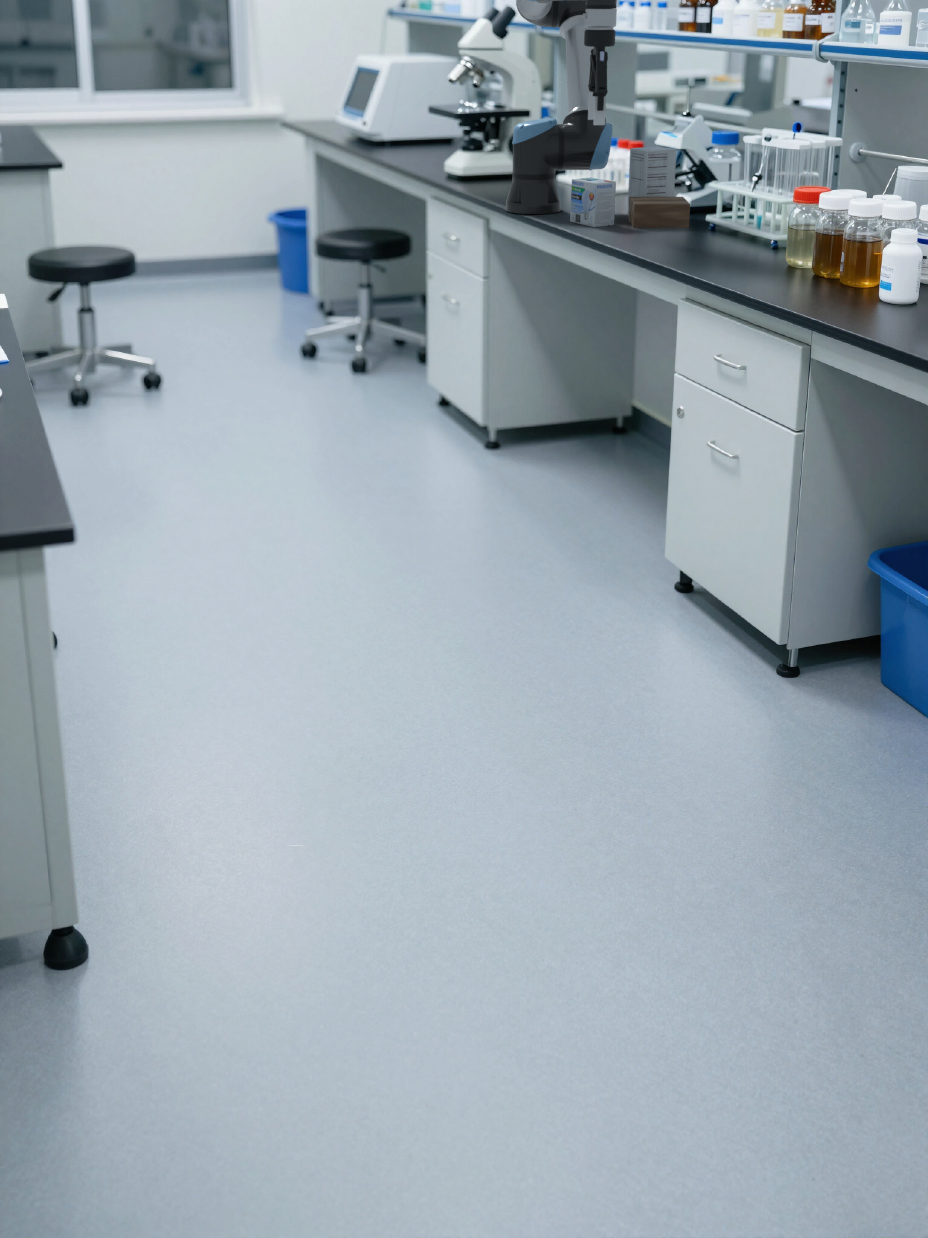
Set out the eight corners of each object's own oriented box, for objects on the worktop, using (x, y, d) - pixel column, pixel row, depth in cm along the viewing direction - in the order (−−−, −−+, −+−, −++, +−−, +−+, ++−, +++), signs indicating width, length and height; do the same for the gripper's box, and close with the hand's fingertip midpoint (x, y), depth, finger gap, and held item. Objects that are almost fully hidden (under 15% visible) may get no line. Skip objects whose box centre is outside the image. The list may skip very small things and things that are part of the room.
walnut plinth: (627, 220, 334) (629, 196, 331) (681, 220, 334) (682, 196, 331) (633, 228, 321) (634, 204, 319) (688, 228, 321) (690, 203, 318)
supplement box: (673, 215, 338) (678, 148, 331) (643, 217, 335) (647, 150, 328) (656, 211, 346) (659, 145, 339) (626, 213, 343) (629, 147, 336)
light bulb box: (569, 221, 330) (570, 178, 325) (589, 219, 333) (591, 176, 328) (594, 227, 322) (596, 182, 317) (615, 225, 325) (617, 180, 320)
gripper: (579, 26, 318) (576, 117, 327) (589, 30, 295) (586, 127, 305) (609, 26, 318) (605, 117, 327) (621, 29, 295) (617, 127, 305)
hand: (596, 122), depth 316 cm, fingers open, 13 cm apart
